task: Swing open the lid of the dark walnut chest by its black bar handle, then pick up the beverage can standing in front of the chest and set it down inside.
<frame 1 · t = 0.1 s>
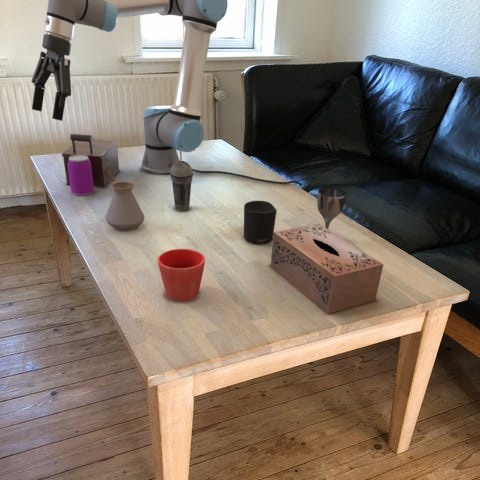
hand: (46, 115, 152), 28 cm above the table, tool tilted 20°, fingers open, 13 cm apart
pen holder: (258, 239, 153), on the table
lid: (89, 139, 182), point 14 cm above the table, hinge at 0.0°
tissue box cover: (320, 283, 132), on the table
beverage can: (82, 193, 177), on the table
chest: (94, 177, 190), on the table
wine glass: (324, 241, 154), on the table
flower pot: (182, 294, 124), on the table
coffee pot: (120, 221, 159), on the table
beverage cup: (182, 209, 169), on the table
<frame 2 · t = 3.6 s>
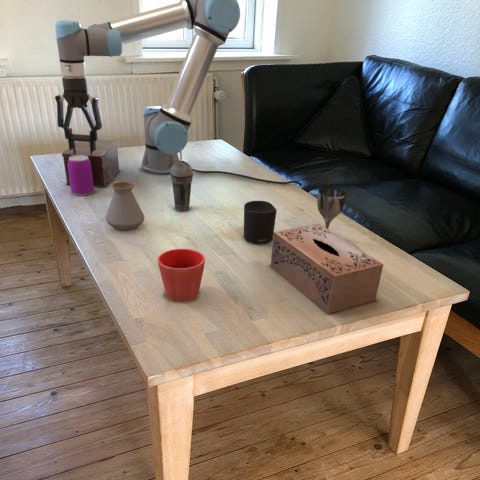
hand: (82, 149, 176), 13 cm above the table, tool pointing down, fingers closed on lid, 7 cm apart
lid: (89, 139, 182), point 14 cm above the table, hinge at 0.0°, touching gripper
everything else where it was.
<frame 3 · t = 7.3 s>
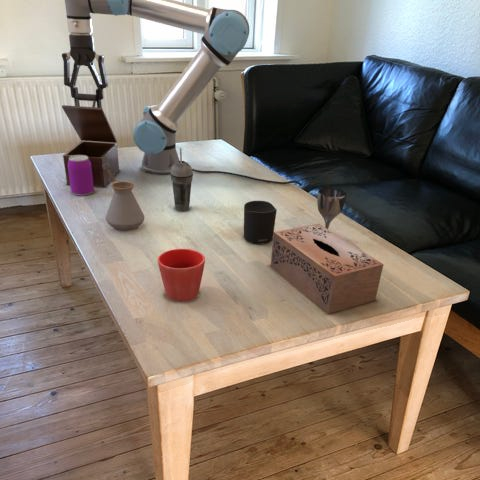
hand: (88, 108, 179), 24 cm above the table, tool pointing down, fingers closed on lid, 7 cm apart
lid: (92, 117, 183), point 20 cm above the table, hinge at 45.8°, touching gripper
everything else where it was.
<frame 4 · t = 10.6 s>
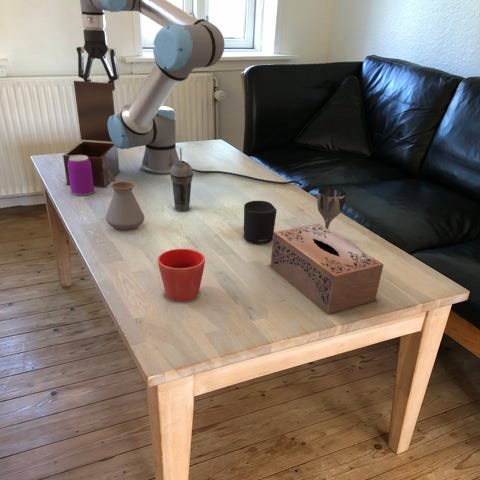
hand: (101, 99, 191), 24 cm above the table, tool pointing down, fingers closed on lid, 7 cm apart
lid: (98, 110, 189), point 21 cm above the table, hinge at 89.4°, touching gripper
everything else where it was.
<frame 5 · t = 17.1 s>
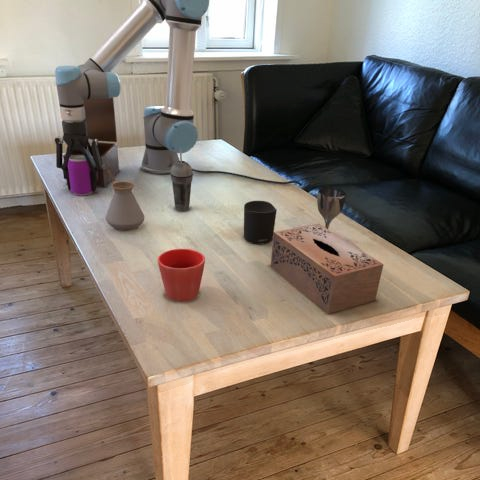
hand: (82, 189, 176), 1 cm above the table, tool pointing down, fingers closed on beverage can, 8 cm apart
lid: (98, 110, 189), point 21 cm above the table, hinge at 89.5°
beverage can: (82, 193, 177), on the table, touching gripper
everything else where it was.
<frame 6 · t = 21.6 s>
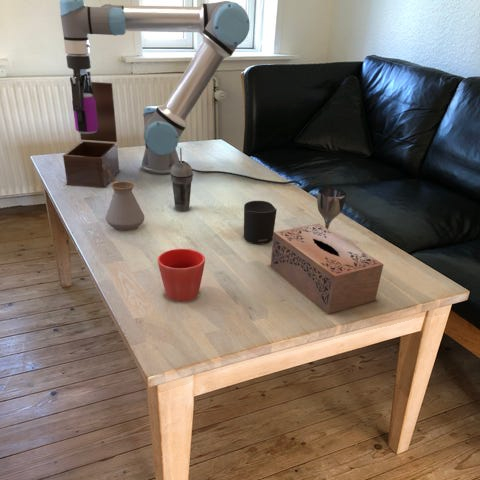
hand: (86, 128, 178), 18 cm above the table, tool pointing down, fingers closed on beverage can, 8 cm apart
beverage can: (87, 132, 178), point 17 cm above the table, touching gripper
everything else where it was.
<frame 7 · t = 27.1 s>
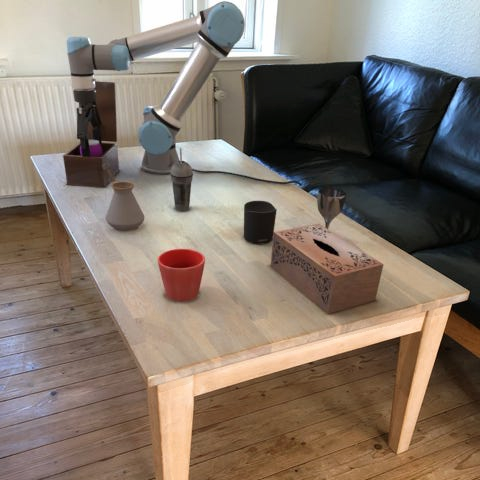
hand: (92, 152, 185), 9 cm above the table, tool pointing down, fingers open, 13 cm apart
lid: (100, 111, 191), point 20 cm above the table, hinge at 100.3°
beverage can: (93, 175, 190), point 1 cm above the table, touching chest
everything else where it was.
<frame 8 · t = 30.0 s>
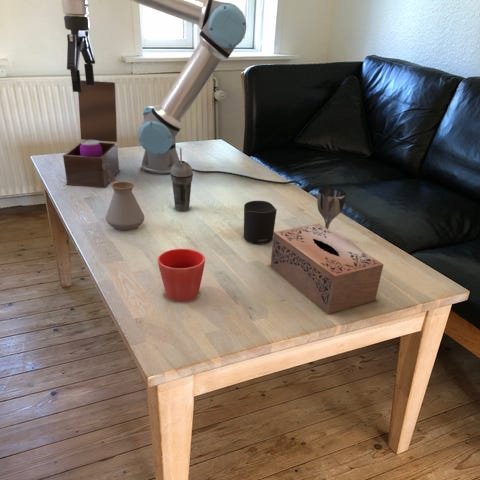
hand: (84, 88, 173), 31 cm above the table, tool pointing down, fingers open, 13 cm apart
nothing on the table moved.
at the end: lid at +100° (first picture: +0°); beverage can inside the target area in the chest (0.1 cm from its centre), point 0.7 cm above the chest's base; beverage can tilted 0° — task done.
